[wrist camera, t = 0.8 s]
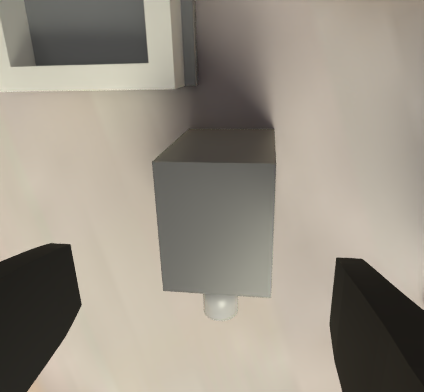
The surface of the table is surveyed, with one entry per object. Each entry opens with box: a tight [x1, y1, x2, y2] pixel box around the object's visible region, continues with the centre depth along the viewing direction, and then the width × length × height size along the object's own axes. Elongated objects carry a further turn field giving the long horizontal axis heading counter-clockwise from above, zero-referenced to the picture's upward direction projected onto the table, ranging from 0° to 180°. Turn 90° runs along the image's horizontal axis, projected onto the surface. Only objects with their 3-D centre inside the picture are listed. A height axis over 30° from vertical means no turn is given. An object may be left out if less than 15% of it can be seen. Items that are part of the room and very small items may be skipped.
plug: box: [152, 129, 276, 321], centre depth 16 cm, size 4×7×6 cm, turn 1°
